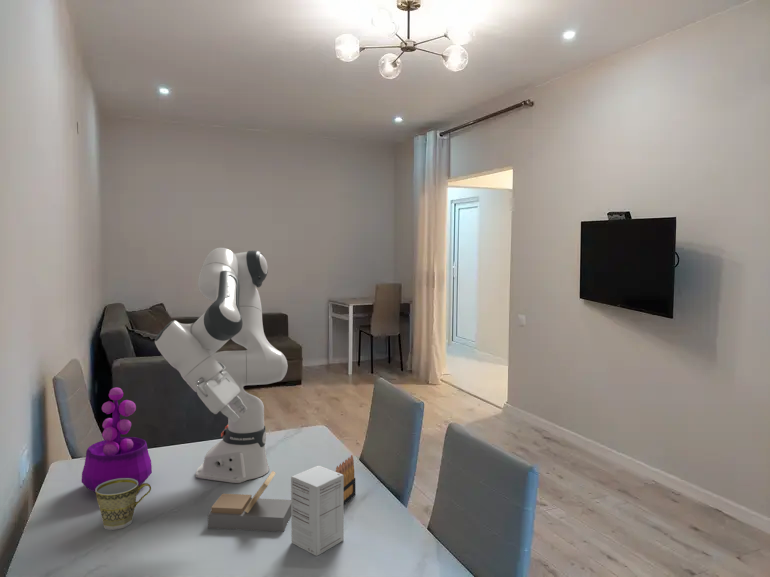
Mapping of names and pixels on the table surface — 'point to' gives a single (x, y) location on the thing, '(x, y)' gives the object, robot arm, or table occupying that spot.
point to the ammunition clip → (348, 478)
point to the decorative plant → (116, 448)
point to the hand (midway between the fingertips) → (241, 415)
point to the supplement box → (317, 509)
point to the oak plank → (260, 492)
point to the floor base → (249, 513)
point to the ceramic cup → (118, 501)
